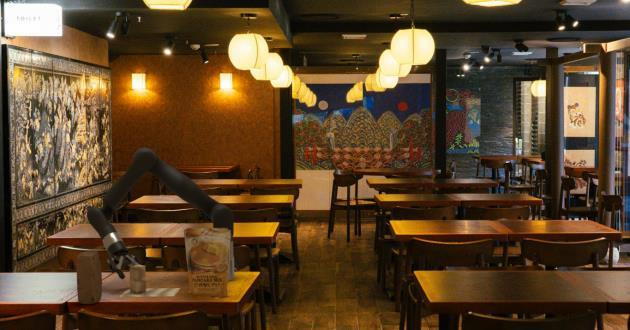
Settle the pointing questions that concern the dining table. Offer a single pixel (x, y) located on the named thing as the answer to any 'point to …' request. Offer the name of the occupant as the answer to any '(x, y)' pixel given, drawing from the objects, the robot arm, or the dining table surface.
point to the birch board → (153, 292)
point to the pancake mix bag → (208, 260)
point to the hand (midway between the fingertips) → (132, 276)
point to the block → (89, 277)
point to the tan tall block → (137, 279)
